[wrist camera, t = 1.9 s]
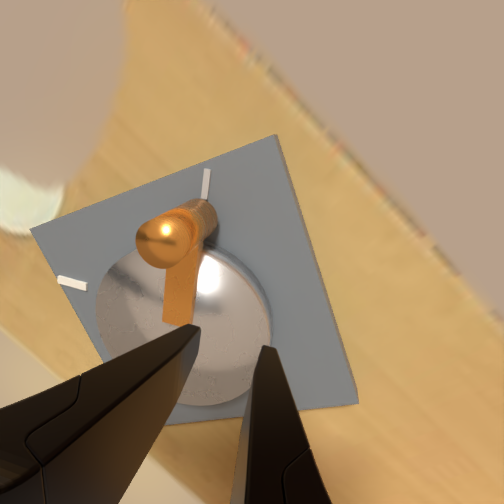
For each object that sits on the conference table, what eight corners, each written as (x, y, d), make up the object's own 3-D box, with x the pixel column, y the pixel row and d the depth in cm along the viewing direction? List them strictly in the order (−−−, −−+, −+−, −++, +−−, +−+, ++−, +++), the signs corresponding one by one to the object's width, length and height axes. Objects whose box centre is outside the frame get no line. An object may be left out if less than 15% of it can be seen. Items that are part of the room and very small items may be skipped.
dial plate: (148, 414, 30) (138, 429, 28) (45, 223, 25) (27, 229, 23) (356, 388, 24) (359, 405, 23) (276, 134, 19) (272, 134, 18)
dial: (256, 404, 24) (238, 476, 19) (112, 360, 26) (60, 416, 21) (300, 219, 19) (291, 251, 14) (114, 177, 21) (43, 192, 15)
